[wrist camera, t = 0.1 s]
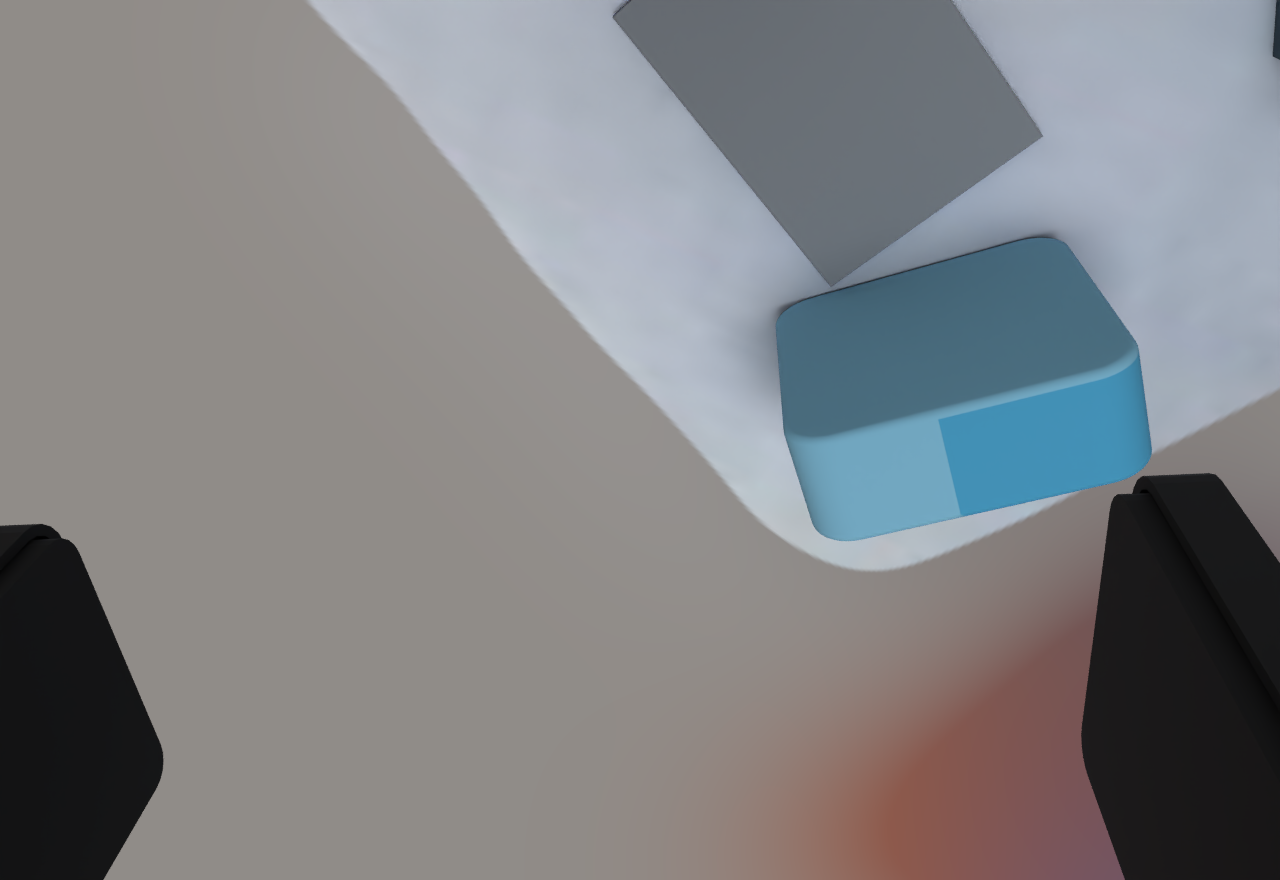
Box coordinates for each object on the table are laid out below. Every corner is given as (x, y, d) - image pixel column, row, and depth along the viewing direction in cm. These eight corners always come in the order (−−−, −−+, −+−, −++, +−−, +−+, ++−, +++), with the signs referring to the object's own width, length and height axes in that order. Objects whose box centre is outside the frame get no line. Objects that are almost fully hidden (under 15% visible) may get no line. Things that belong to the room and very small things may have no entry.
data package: (799, 394, 51) (816, 552, 40) (773, 306, 48) (783, 449, 38) (1073, 324, 48) (1166, 474, 38) (1057, 227, 46) (1151, 358, 35)
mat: (614, 14, 43) (612, 17, 42) (828, -179, 39) (829, -179, 39) (829, 281, 48) (830, 286, 47) (1039, 131, 44) (1043, 136, 43)
